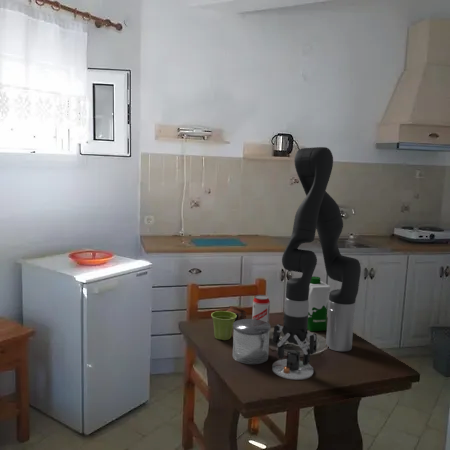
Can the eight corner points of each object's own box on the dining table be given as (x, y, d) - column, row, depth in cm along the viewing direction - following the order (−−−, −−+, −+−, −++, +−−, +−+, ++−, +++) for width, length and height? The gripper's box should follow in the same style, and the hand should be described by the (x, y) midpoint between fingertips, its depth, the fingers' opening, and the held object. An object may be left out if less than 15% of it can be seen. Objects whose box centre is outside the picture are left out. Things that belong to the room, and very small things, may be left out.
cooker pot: (244, 346, 173) (246, 316, 172) (275, 355, 166) (277, 324, 164) (224, 357, 163) (225, 326, 161) (256, 368, 156) (258, 335, 154)
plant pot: (227, 331, 187) (227, 309, 186) (240, 339, 179) (241, 317, 178) (205, 335, 182) (206, 312, 181) (218, 344, 174) (219, 320, 173)
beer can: (267, 342, 177) (269, 300, 175) (250, 340, 178) (252, 298, 176) (269, 336, 183) (271, 295, 181) (252, 334, 185) (254, 293, 182)
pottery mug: (216, 323, 197) (223, 304, 199) (236, 331, 200) (242, 312, 202) (229, 325, 186) (237, 305, 188) (250, 334, 189) (257, 314, 191)
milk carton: (319, 323, 200) (322, 275, 197) (329, 331, 191) (333, 281, 188) (299, 324, 197) (302, 276, 194) (309, 332, 189) (312, 282, 186)
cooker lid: (284, 359, 164) (285, 341, 164) (319, 370, 157) (321, 351, 156) (264, 372, 154) (265, 353, 153) (301, 384, 147) (303, 365, 146)
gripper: (322, 314, 152) (318, 363, 154) (281, 304, 160) (279, 351, 162) (311, 320, 146) (308, 371, 148) (270, 309, 154) (267, 358, 156)
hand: (293, 360), depth 155 cm, fingers open, 8 cm apart
